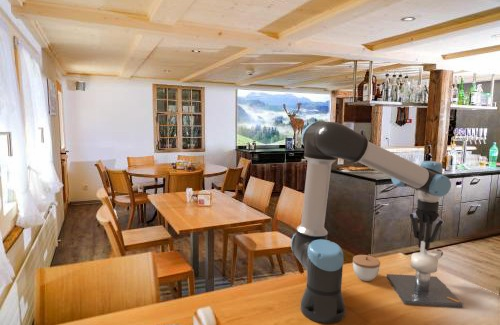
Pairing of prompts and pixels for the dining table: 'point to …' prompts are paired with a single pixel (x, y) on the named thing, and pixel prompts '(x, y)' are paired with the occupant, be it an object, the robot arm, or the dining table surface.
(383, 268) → the dining table surface
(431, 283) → the base
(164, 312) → the dining table surface
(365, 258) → the lidded jar
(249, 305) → the dining table surface
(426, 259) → the coupling lever handle
